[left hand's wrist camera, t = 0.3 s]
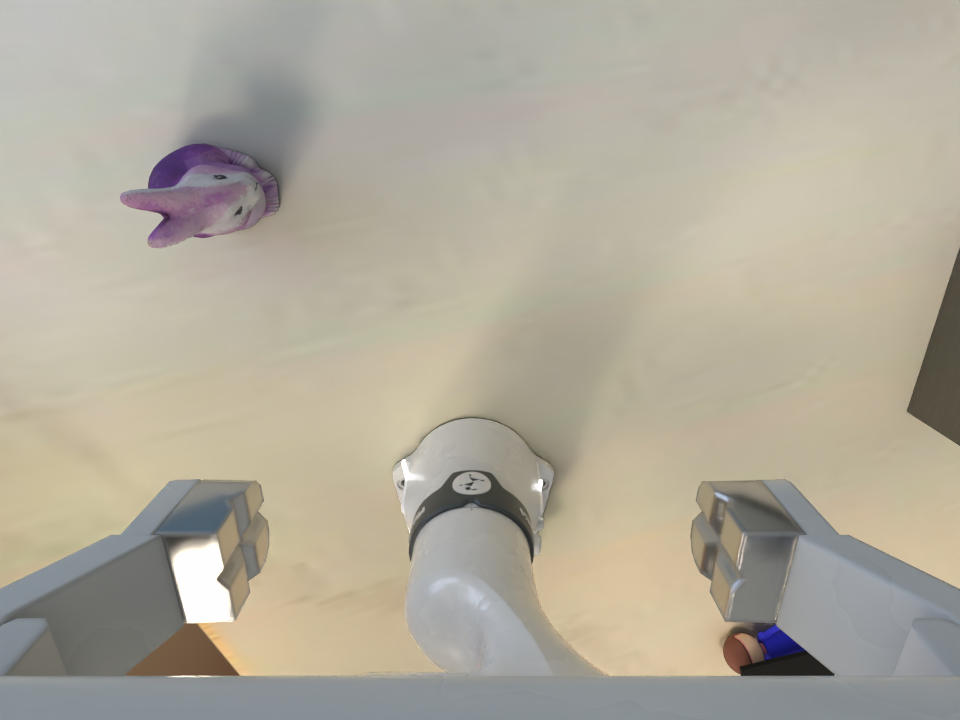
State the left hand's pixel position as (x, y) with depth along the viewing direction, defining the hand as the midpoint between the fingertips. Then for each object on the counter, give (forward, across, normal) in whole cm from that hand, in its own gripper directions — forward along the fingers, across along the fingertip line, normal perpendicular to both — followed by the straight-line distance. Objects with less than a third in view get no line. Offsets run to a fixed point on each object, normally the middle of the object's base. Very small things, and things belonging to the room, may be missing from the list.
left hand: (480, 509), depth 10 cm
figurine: (+47, -24, +2) cm, 53 cm away
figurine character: (+48, +40, -55) cm, 83 cm away
